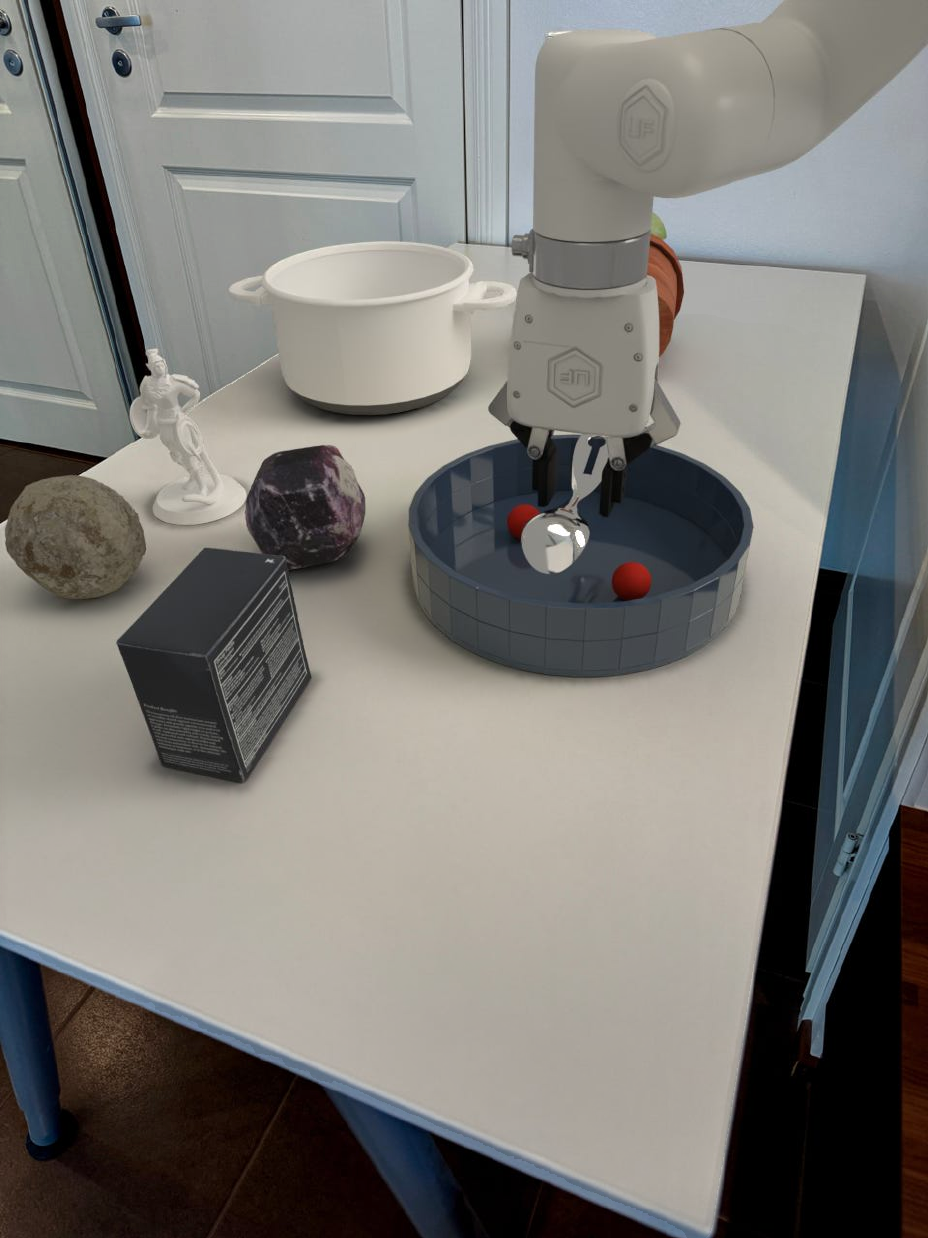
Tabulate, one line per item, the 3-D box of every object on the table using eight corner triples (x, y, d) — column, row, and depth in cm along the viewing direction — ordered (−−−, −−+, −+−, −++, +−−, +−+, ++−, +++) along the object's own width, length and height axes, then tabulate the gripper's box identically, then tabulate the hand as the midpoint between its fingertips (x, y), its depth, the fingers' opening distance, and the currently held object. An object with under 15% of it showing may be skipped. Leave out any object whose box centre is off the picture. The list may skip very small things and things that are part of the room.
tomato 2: (652, 590, 69) (656, 557, 67) (645, 612, 66) (649, 579, 65) (615, 583, 70) (617, 551, 68) (606, 604, 67) (608, 572, 66)
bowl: (756, 517, 78) (768, 455, 74) (716, 711, 58) (729, 641, 55) (477, 476, 86) (475, 419, 82) (359, 636, 66) (350, 570, 63)
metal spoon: (575, 402, 74) (631, 408, 73) (574, 440, 76) (628, 446, 75) (512, 537, 60) (581, 547, 58) (513, 578, 62) (579, 589, 61)
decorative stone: (178, 568, 75) (148, 461, 69) (119, 626, 68) (81, 515, 62) (76, 552, 77) (40, 448, 71) (11, 607, 71) (-36, 498, 65)
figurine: (132, 513, 82) (84, 357, 73) (194, 472, 89) (157, 324, 80) (206, 532, 79) (166, 372, 70) (265, 488, 85) (235, 335, 76)
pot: (531, 357, 110) (533, 242, 102) (498, 438, 92) (496, 306, 84) (285, 346, 117) (267, 237, 108) (208, 419, 99) (180, 295, 90)
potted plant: (690, 396, 103) (667, 281, 129) (700, 265, 93) (673, 169, 119) (556, 402, 105) (560, 288, 131) (552, 275, 95) (557, 178, 121)
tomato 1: (546, 531, 76) (546, 500, 74) (536, 549, 74) (536, 518, 72) (513, 525, 77) (513, 495, 75) (502, 543, 75) (502, 512, 73)
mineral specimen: (338, 585, 68) (277, 470, 64) (256, 593, 75) (197, 489, 71) (408, 525, 75) (357, 416, 71) (327, 537, 82) (277, 439, 78)
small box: (233, 663, 64) (202, 541, 58) (314, 677, 63) (292, 553, 56) (154, 767, 56) (108, 638, 50) (245, 785, 55) (210, 655, 48)
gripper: (449, 265, 57) (459, 511, 68) (713, 284, 52) (678, 545, 63) (487, 236, 62) (491, 467, 74) (729, 250, 57) (694, 496, 69)
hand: (577, 501), depth 68 cm, fingers closed on metal spoon, 4 cm apart
